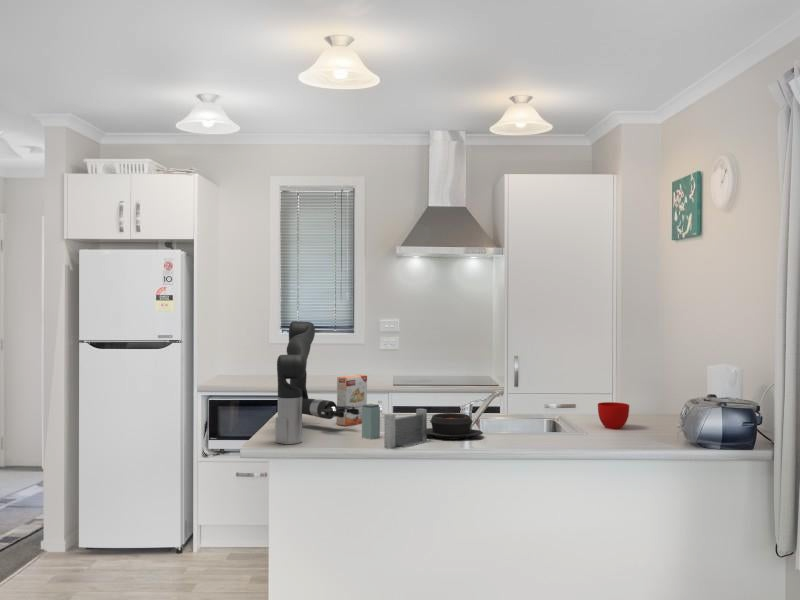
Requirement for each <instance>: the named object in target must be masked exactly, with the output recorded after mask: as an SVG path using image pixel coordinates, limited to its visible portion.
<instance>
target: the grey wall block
mask: <svg viewBox="0 0 800 600" xmlns="http://www.w3.org/2000/svg"><path fill="white" fill-rule="evenodd" d="M427 411H428V410H427V409H425V408H416V414H413V415H407V416H401V417H396V414H390V413H385V414H384V419H383V420H384V421H383V422H384V423H383V424H384V428H383V430H384V432H383V433H384V437H383V438H384V443H383V444H384V448H387V449H394V448H398V447H401V448H408V447H413V446H417V445H420V444H425V443H426V444H427V443H428V442H429V440H428V439H427V436H428V435H427V423H428V421H427V420H428V419H427V418H428V417H427V416H428V415H427V413H428V412H427Z"/></svg>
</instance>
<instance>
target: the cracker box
mask: <svg viewBox="0 0 800 600" xmlns="http://www.w3.org/2000/svg"><path fill="white" fill-rule="evenodd" d="M336 379H337V381H336V382H337V383H336V384H337V385H336V406H351V407H355V409H358V410H359V414H358V415H355V414H347V415H344V417H336V425H338V426H343V427H347V426H353V425H358V424H357V423H359V424H362V407H363V405H366V404H368V403H367V402H368V399H367V398H368V375H366V374H353V375H344V376H342V375H341V376H337V378H336ZM344 413H345V412H344Z"/></svg>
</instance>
